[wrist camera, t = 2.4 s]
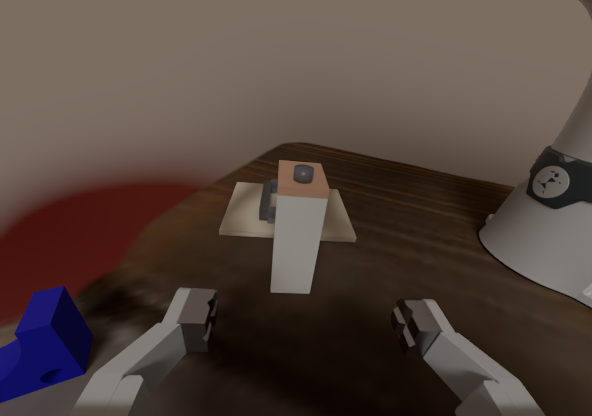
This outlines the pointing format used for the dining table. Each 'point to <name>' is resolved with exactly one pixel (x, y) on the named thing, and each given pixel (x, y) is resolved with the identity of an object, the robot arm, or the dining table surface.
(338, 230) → the board
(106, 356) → the dining table surface
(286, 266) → the white and orange block
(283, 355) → the dining table surface
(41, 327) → the cable clip
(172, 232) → the dining table surface
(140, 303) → the dining table surface
